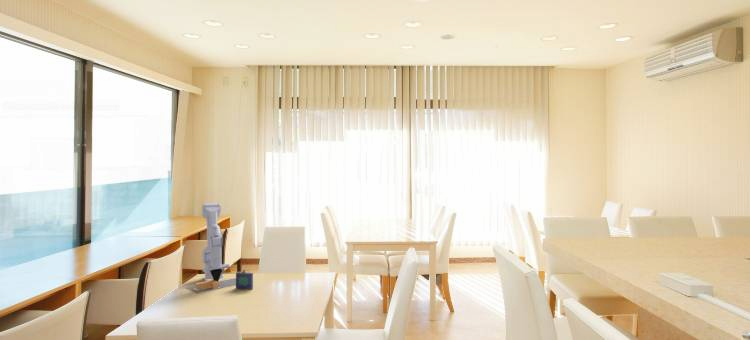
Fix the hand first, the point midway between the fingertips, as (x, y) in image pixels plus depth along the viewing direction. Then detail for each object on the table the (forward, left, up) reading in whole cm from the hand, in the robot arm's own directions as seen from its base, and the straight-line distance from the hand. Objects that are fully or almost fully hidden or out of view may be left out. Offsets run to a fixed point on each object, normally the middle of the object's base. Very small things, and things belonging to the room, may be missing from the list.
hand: (216, 282), depth 251 cm
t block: (+6, 0, -1) cm, 6 cm away
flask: (-8, +16, -2) cm, 18 cm away
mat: (-1, 0, -2) cm, 2 cm away
